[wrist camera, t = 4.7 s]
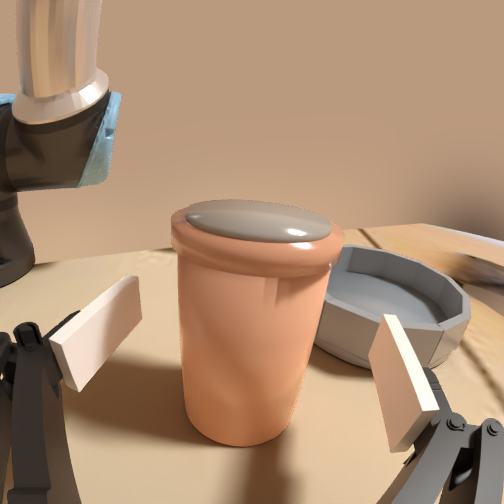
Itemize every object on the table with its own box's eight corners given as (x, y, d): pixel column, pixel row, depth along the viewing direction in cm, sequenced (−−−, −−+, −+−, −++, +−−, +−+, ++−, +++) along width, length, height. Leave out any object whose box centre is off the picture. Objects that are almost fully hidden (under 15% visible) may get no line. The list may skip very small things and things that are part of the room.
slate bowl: (260, 282, 34) (264, 246, 33) (379, 271, 41) (386, 243, 40) (361, 403, 17) (384, 356, 15) (480, 337, 24) (495, 304, 22)
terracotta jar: (173, 372, 19) (166, 197, 15) (270, 359, 21) (294, 200, 17) (193, 460, 12) (181, 243, 8) (317, 431, 15) (382, 239, 10)
